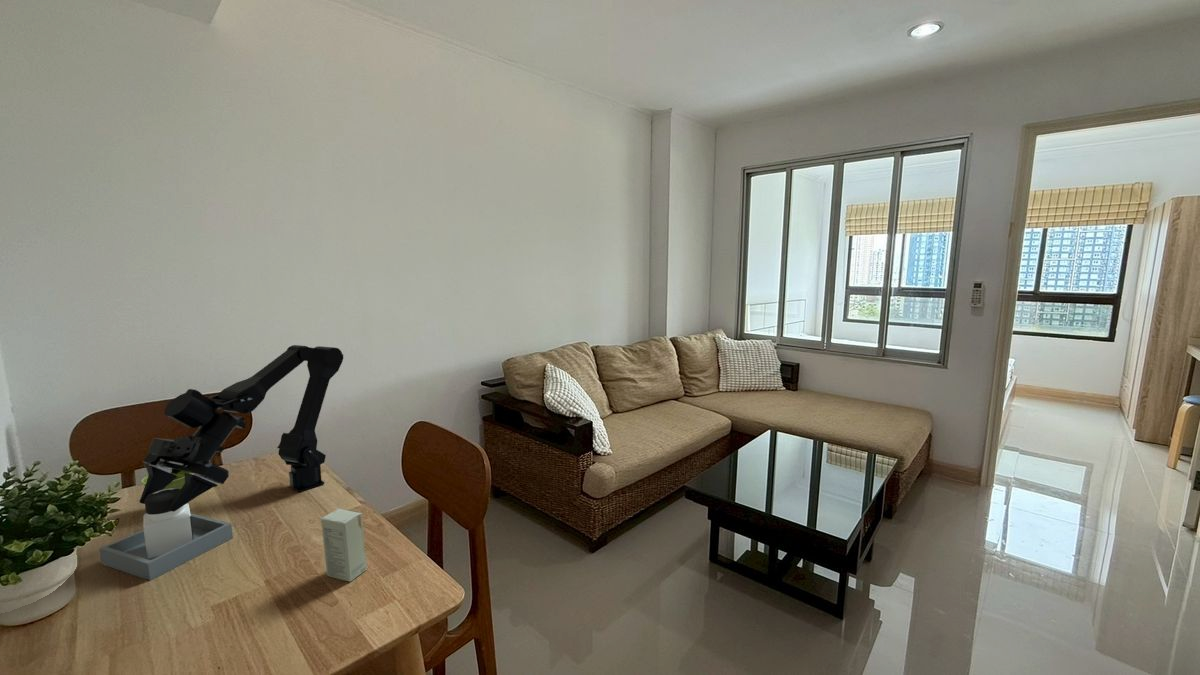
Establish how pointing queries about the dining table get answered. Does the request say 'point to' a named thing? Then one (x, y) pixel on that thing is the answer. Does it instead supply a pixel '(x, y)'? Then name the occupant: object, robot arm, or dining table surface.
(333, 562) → the skincare box
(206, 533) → the tray
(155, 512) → the medicine bottle
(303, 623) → the dining table surface
